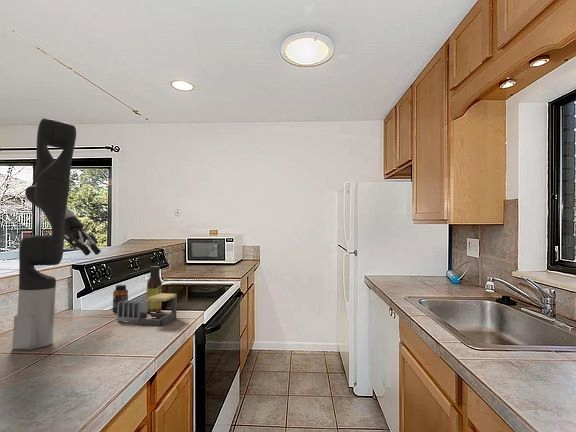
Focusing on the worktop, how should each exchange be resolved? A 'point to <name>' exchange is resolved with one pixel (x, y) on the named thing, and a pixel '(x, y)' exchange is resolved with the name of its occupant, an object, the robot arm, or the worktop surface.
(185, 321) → the worktop surface
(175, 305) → the grey and yellow stand
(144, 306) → the heatsink block
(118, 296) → the supplement bottle
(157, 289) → the sauce bottle
